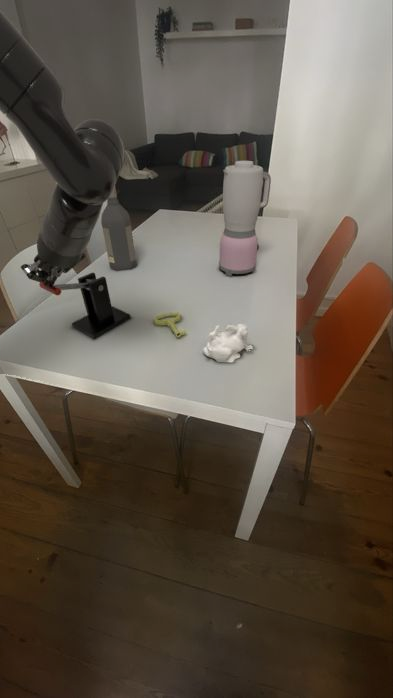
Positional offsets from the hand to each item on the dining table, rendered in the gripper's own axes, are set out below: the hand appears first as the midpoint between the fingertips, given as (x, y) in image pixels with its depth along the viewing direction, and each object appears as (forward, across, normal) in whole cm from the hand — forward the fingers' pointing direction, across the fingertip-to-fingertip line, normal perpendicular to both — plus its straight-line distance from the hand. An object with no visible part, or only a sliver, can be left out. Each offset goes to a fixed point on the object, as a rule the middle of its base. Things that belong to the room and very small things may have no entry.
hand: (47, 282), depth 68 cm
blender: (+3, -61, +20) cm, 64 cm away
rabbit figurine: (-13, -19, +36) cm, 43 cm away
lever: (+3, -5, +3) cm, 7 cm away
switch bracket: (+11, -11, +11) cm, 19 cm away
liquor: (+28, -39, -5) cm, 48 cm away
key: (0, -20, +23) cm, 30 cm away
